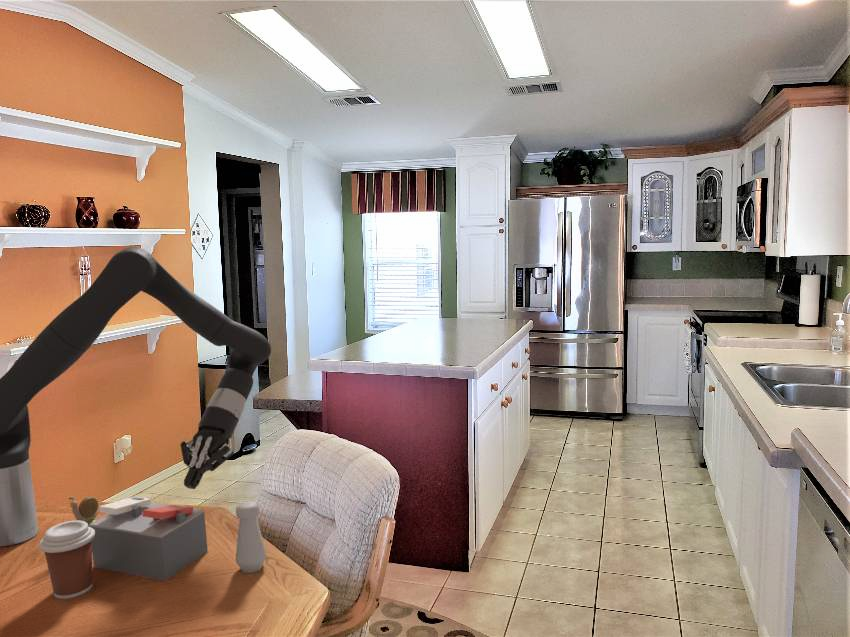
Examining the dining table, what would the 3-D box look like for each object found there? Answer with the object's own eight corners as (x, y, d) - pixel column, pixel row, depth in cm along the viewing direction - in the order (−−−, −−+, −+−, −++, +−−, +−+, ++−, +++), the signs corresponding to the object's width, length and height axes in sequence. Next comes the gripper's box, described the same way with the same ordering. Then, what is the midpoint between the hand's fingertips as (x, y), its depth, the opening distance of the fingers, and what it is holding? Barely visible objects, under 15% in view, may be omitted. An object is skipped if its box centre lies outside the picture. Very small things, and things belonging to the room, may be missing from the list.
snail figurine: (67, 550, 138) (60, 495, 136) (92, 537, 144) (86, 484, 142) (85, 554, 136) (79, 499, 134) (111, 540, 142) (105, 487, 140)
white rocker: (99, 512, 129) (99, 505, 129) (134, 502, 138) (134, 495, 138) (116, 514, 128) (116, 508, 128) (150, 504, 136) (150, 498, 136)
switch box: (93, 567, 130) (88, 515, 129) (139, 540, 141) (135, 492, 140) (165, 581, 123) (160, 526, 122) (207, 551, 135) (203, 501, 133)
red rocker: (142, 516, 125) (143, 509, 126) (175, 510, 134) (176, 503, 134) (160, 519, 124) (161, 511, 124) (192, 513, 132) (193, 506, 132)
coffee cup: (42, 588, 123) (34, 527, 121) (95, 571, 128) (88, 513, 127) (49, 609, 115) (41, 544, 114) (105, 590, 121) (98, 529, 119)
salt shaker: (258, 576, 124) (253, 511, 122) (230, 574, 125) (225, 509, 123) (271, 561, 129) (267, 498, 128) (245, 559, 131) (240, 497, 129)
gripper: (189, 403, 144) (153, 476, 134) (239, 406, 139) (205, 483, 129) (207, 419, 149) (173, 491, 139) (256, 423, 144) (224, 498, 135)
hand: (189, 487), depth 134 cm, fingers closed
